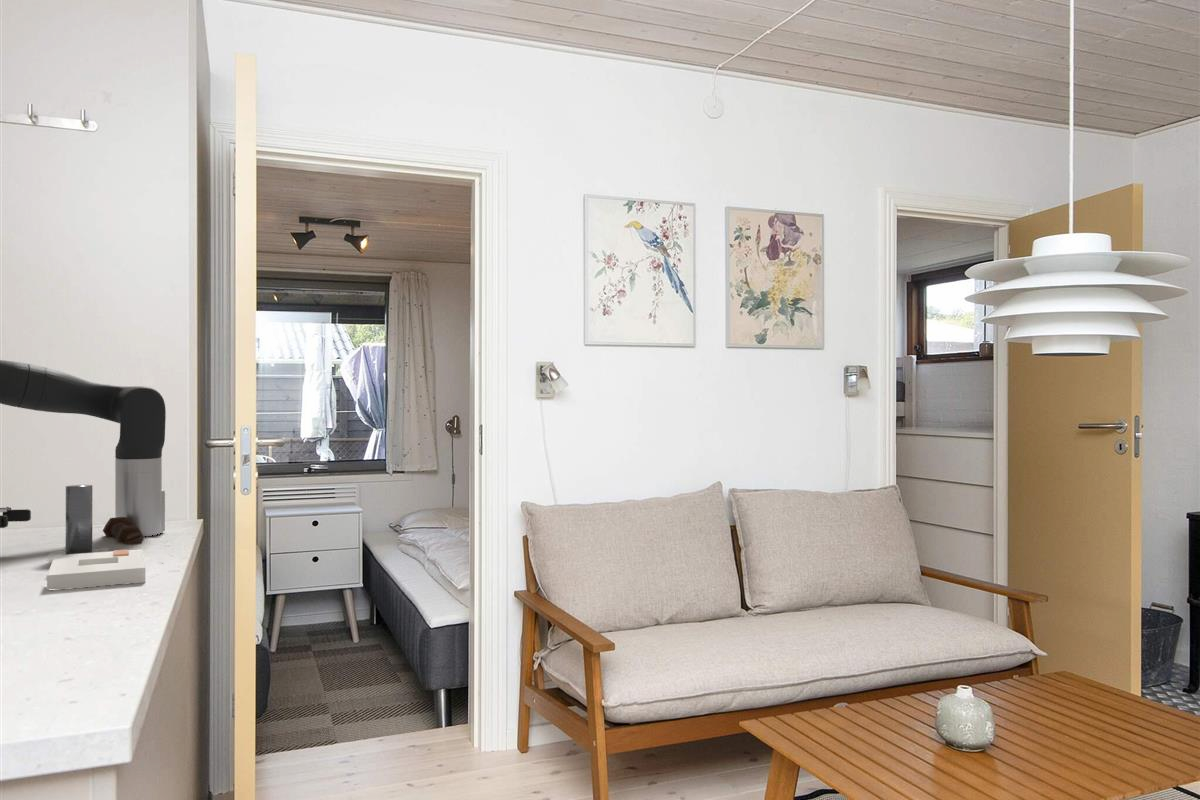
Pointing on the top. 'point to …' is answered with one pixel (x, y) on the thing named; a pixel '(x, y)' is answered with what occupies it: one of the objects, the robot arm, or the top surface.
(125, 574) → the plate
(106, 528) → the bolt
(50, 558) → the mat
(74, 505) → the cylinder
